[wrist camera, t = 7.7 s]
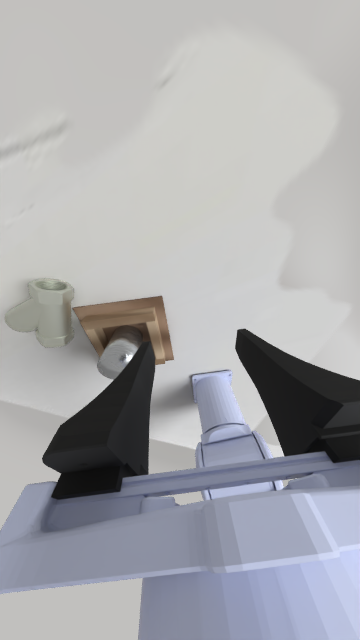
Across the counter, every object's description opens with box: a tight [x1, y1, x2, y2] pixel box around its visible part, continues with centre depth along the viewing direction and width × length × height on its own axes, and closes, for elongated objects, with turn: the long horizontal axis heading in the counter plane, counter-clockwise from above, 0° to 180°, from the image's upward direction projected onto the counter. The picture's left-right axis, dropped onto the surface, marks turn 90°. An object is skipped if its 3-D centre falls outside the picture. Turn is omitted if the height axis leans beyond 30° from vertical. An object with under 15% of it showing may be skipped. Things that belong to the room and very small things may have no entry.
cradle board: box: [73, 296, 174, 365], centre depth 22 cm, size 12×12×3 cm
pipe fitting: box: [5, 279, 74, 348], centre depth 18 cm, size 8×4×7 cm
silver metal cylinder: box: [97, 325, 143, 379], centre depth 20 cm, size 4×4×6 cm
